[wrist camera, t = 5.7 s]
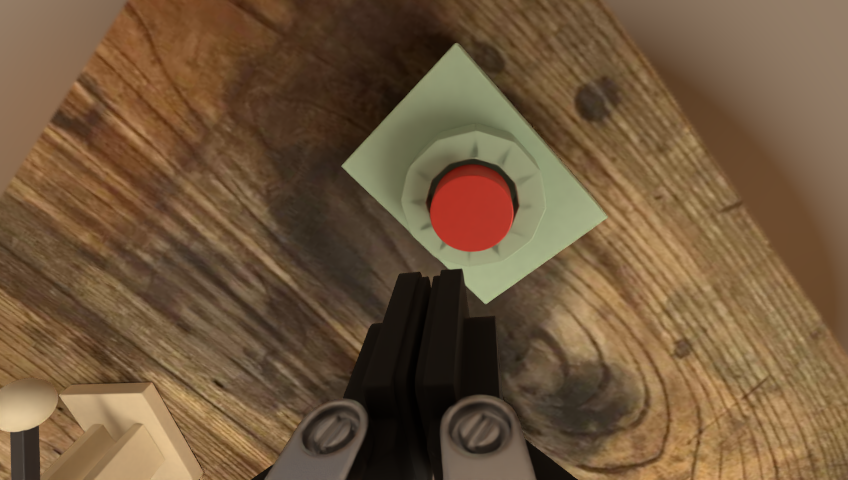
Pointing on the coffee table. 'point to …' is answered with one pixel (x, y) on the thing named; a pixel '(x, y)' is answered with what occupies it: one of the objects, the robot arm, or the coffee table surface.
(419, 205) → the button block
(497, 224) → the button
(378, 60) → the coffee table surface
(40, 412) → the lever
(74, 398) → the bracket
